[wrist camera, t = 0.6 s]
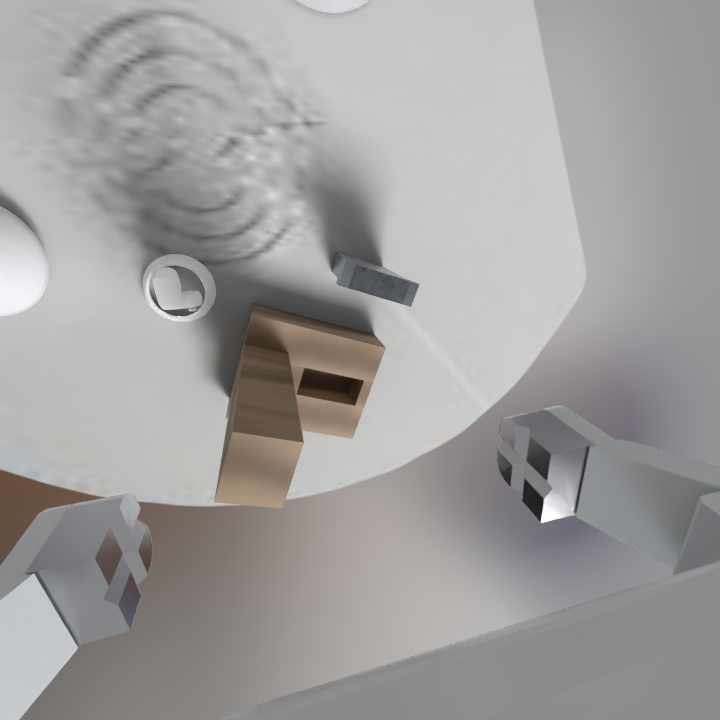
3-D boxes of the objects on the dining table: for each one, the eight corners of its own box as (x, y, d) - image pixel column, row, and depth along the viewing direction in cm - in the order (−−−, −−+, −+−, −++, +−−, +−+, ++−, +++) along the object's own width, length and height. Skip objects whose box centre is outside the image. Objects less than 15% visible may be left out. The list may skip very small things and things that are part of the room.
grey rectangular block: (329, 249, 46) (345, 260, 37) (390, 269, 48) (419, 284, 39) (323, 269, 46) (338, 285, 37) (383, 287, 49) (410, 306, 40)
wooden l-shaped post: (252, 303, 46) (244, 386, 25) (374, 335, 51) (451, 425, 30) (229, 398, 50) (204, 539, 29) (345, 419, 55) (395, 551, 34)
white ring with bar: (205, 209, 37) (222, 276, 35) (209, 269, 47) (222, 321, 46) (115, 214, 34) (130, 287, 33) (141, 276, 45) (153, 332, 43)
